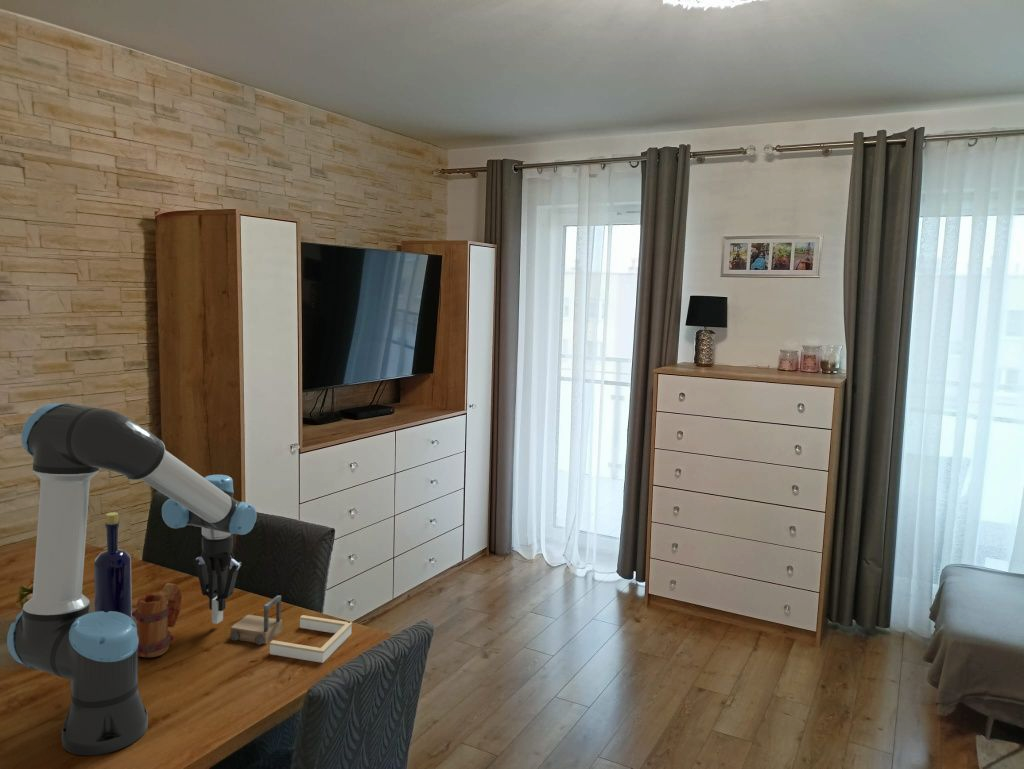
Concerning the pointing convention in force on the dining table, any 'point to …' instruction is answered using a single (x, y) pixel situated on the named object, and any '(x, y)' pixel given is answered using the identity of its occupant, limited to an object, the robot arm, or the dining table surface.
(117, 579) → the bottle
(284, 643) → the bay
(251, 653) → the dining table surface
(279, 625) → the trolley
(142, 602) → the mug
